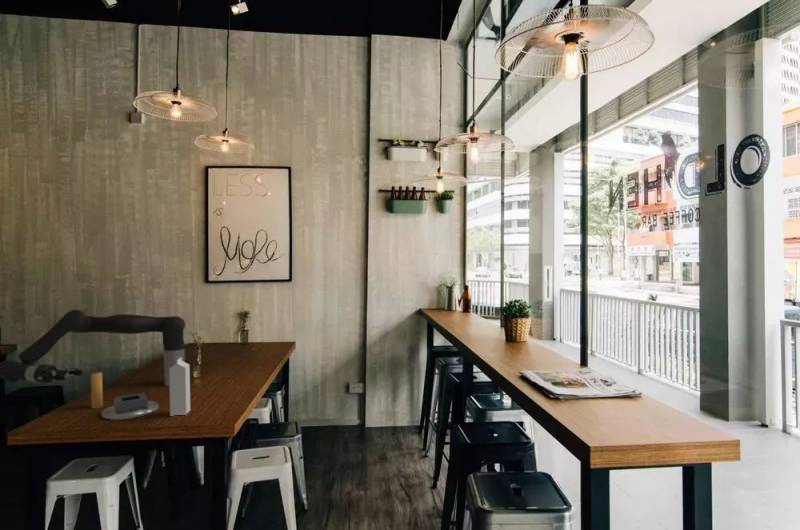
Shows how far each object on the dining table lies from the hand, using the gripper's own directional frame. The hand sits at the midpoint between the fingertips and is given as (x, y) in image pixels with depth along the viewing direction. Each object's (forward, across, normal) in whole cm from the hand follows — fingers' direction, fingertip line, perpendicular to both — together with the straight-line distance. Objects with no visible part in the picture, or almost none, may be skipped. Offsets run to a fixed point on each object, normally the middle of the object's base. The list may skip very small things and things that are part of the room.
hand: (73, 375), depth 201 cm
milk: (+53, -2, +12) cm, 54 cm away
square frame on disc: (+31, -3, +12) cm, 33 cm away
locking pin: (+12, 0, +13) cm, 17 cm away
